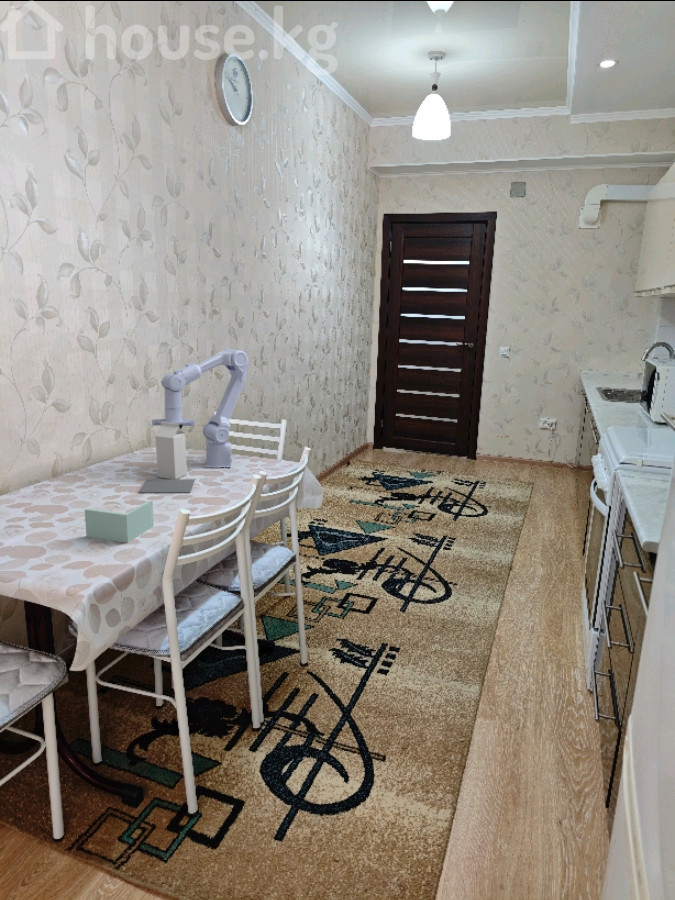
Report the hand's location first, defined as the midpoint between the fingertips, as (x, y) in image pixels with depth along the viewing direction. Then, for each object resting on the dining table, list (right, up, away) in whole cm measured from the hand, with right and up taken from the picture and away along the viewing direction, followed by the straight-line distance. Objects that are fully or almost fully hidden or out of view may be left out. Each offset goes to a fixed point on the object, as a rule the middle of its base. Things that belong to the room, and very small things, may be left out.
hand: (174, 445), depth 211 cm
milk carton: (+1, -11, -4) cm, 12 cm away
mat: (+2, -14, -16) cm, 21 cm away
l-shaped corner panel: (+1, -23, -54) cm, 59 cm away
